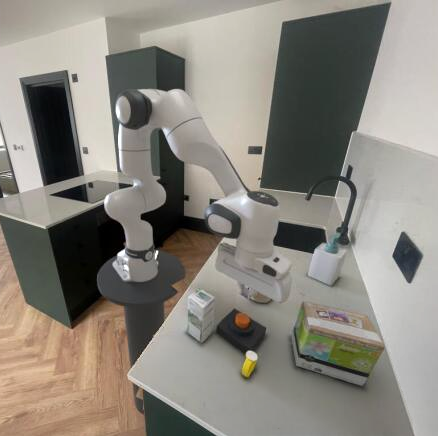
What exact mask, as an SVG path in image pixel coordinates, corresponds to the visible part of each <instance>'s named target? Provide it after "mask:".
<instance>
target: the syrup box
mask: <svg viewBox="0 0 438 436" xmlns="http://www.w3.org/2000/svg"><path fill="white" fill-rule="evenodd" d="M215 298H216V297H215V296H214V295H211V294H210V293H208V292H207V291H205V290H203V289H202V288H201V287H200V288H197V289H196V290H194V291H193V292H192V293H191V294H190V295H189V296H188V297H187V327H186V328H187V329H186V330H187V334H189V335H190V336H191V337H193V338H194V339H195V340H196V341H197V342H199V343H200V344H203V342H205V340H206V339H207V338H209V336H210V335H211V334H212V333H213V321H214V312H215V311H214V310H215V301H216V299H215Z"/></svg>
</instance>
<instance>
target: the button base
mask: <svg viewBox="0 0 438 436" xmlns="http://www.w3.org/2000/svg"><path fill="white" fill-rule="evenodd" d="M238 313H242V311H240V310H238V309H237V308H232V310H231V311H230V312H228V314H226V315H225V317H223V318H222V319H221V321H219V322H218V323H217V324H216V328H215V334H217V335H218V336H220V337H221V338H222V339H224V340H225V341H226V342H228V343H229V344H230V345H232V346H233V347H234V348H236V349H237V350H239V352H241V353H243V355H245V356H246V352H247V351H253V352H254V351H255V349H256V348H257V347H258V345H259V344H260V343H261V342H262V340H263V339H264V338H265V336H266V332H267V327H266V326H264V325H262V324H261V323H259V322H258V321H256V320H254V319H253V318H251V317H250V316H249V315H247V316H248V317H249V318H250V322H249V326H248V328H245V329H243V328H240V327H238V326H237V325H236V324H235V318H236V315H237V314H238Z"/></svg>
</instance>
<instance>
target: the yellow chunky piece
mask: <svg viewBox="0 0 438 436" xmlns="http://www.w3.org/2000/svg"><path fill="white" fill-rule="evenodd" d="M258 357H259V355H258V354H257V352H255V351H254V350H253V351H247V352H246V355H245V358H246V359H245V361H244V363H243V366H242V368H241V374H242V375H243V376H244V377H245V378H249V377H250V375H251V373H252V372H253V371H254V370H255V367H256V364H257V363H258Z"/></svg>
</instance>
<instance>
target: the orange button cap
mask: <svg viewBox="0 0 438 436" xmlns="http://www.w3.org/2000/svg"><path fill="white" fill-rule="evenodd" d="M248 316H249V315H247V314H246V313H243V312H241V313H238V314H237V315H236V318H235V324H236V325H237V326H238V327H240V328H243V329H245V328H248V326H249V322H250V318H251V317H250V316H249V317H250V318H249V317H248Z"/></svg>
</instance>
